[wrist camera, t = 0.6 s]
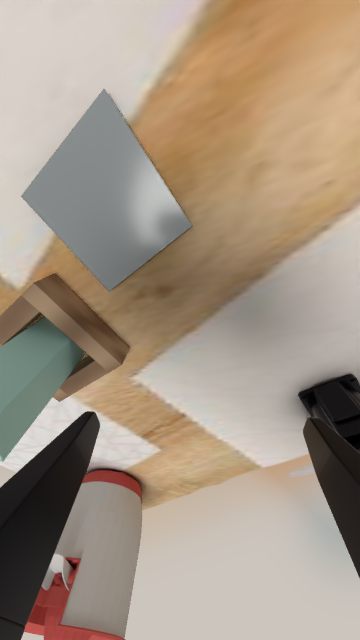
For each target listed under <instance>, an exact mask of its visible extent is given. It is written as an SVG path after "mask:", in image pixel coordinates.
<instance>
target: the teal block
mask: <svg viewBox="0 0 360 640" xmlns="http://www.w3.org/2000/svg"><path fill="white" fill-rule="evenodd" d="M83 356H84V350H83V349H82V348H80V347H79V346H78V345H77V344H76V343H75V342H74V341H72V340H71V339H70V338H69V337H68V336H67V335H66V334H65V333H63V332H62V331H61V330H60V329H59V328H58V327H57V326H55V325H54V324H53V323H52V322H51V321H50V320H49V319H48V318H46V317H45V316H44V317H43V318H41V319H40V320H39V321H37V322H36V323H34V324H33V325H31V326H30V327H29V328H27V329H26V330H24V331H23V332H21V333H20V334H19V335H17V336H16V337H14V338H13V339H12V340H10V341H9V342H7V343H6V344H4V345H3V346H2V347H0V461H2V462H3V461H4V460H5V458H6V457H7V456H8V454H9V453H10V452H11V450H12V449H13V448H14V447H15V445H16V444H17V443H18V441H19V440H20V439H21V437H22V436H23V435H24V433H25V432H26V431H27V430H28V428H29V427H30V426H31V424H32V423H33V422H34V420H35V419H36V418H37V416H38V415H39V414H40V413H41V411H42V410H43V409H44V407H45V406H46V405H47V403H48V402H49V401H50V399H51V398H52V397H53V396H54V394H55V393H56V392H57V390H58V389H59V388H60V386H61V385H62V384H63V382H64V381H65V380H66V379H67V377H68V376H69V375H70V373H71V372H72V371H73V369H74V368H75V367H76V366H77V364H78V363H79V362H80V360H81V359H82V358H83Z"/></svg>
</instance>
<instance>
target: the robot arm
mask: <svg viewBox="0 0 360 640" xmlns="http://www.w3.org/2000/svg"><path fill="white" fill-rule="evenodd" d="M298 396H299V398H300V400H301V401H302V403H303V404H304V406H305V407H306V409H307V410H308V412H309V414H310V415H311V417H308V418H307V420H306V423H305V426H304V429H303V434H304V438H305V441H306V444H307V447H308V450H309V454H310V457H311V460H312V463H313V466H314V469H315V472H316V475H317V478H318V481H319V483H320V486H321V488H322V490H323V493H324V495H325V497H326V500H327V502H328V505H329V507H330V509H331V512H332V514H333V516H334V519H335V521H336V523H337V526H338V528H339V531H340V533H341V535H342V537H343V540H344V542H345V544H346V547H347V549H348V552H349V554H350V556H351V559H352V561H353V563H354V566H355V568H356V571H357V573H358V575H359V578H360V385H359V382H358V380H357V378H356V377H355V376H354V375H347V376H345V377H342V378H339V379H337V380H334V381H331V382H328V383H326V384H323V385H320V386H318V387H315V388H312V389H309V390H307V391H304V392H301V393H300V394H299V395H298ZM99 428H100V422H99V420H98V417H97V415H96V413H95V412H89V411H87V412H85V413H83V414H82V415H81V416H80V417H79V418H78V419H77V420H75V421H74V422H73V423H72V424H71V425H70V426H69V427H68V428H66V429H65V430H64V431H63V432H62V433H61V434H60V435H59V436H57V437H56V438H55V439H54V440H53V441H52V442H51V443H50V444H49V445H47V446H46V447H45V448H44V449H43V450H42V451H41V452H40V453H38V454H37V455H36V456H35V457H34V458H33V459H32V460H31V461H29V462H28V463H27V464H26V465H25V466H24V467H23V468H22V469H21V470H19V471H18V472H17V473H16V474H15V475H14V476H13V477H12V478H11V479H9V480H8V481H7V482H6V483H5V484H4V485H3V486H2V487H1V488H0V640H21V638H22V635H23V633H24V630H25V626H26V624H27V622H28V619H29V617H30V614H31V612H32V609H33V607H34V604H35V601H36V599H37V596H38V594H39V591H40V589H41V586H42V584H43V581H44V578H45V576H46V573H47V571H48V568H49V566H50V563H51V561H52V558H53V555H54V553H55V550H56V548H57V545H58V543H59V540H60V538H61V535H62V533H63V530H64V527H65V525H66V522H67V520H68V517H69V515H70V512H71V510H72V507H73V504H74V502H75V499H76V497H77V494H78V492H79V489H80V487H81V484H82V481H83V479H84V476H85V474H86V471H87V468H88V466H89V463H90V459H91V456H92V453H93V449H94V446H95V442H96V439H97V435H98V432H99Z"/></svg>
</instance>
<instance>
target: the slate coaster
mask: <svg viewBox="0 0 360 640" xmlns="http://www.w3.org/2000/svg"><path fill="white" fill-rule="evenodd" d="M21 197H22V198H23V199H24V200H25V201H26V202H27V203H28V204H29V206H30V207H31V208H32V209H33V210H34V211H35V212H36V213H37V214H38V215H39V216H40V217H41V219H42V220H43V221H44V222H45V223H46V224H47V225H48V226H49V227H50V228H51V229H52V230H53V231H54V233H55V234H56V235H57V236H58V237H59V238H60V239H61V240H62V241H63V242H64V243H65V244H66V246H67V247H68V248H69V249H70V250H71V251H72V252H73V253H74V254H75V255H76V256H77V257H78V259H79V260H80V261H81V262H82V263H83V264H84V265H85V266H86V267H87V268H88V269H89V270H90V272H91V273H92V274H93V275H94V276H95V277H96V278H97V279H98V280H99V281H100V282H101V283H102V284H103V286H104V287H105V288H106V289H107V290H108V291H110V290H112V289H113V288H114V287H115V286H117V285H118V284H119V283H120V282H122V281H123V280H124V279H126V278H127V277H128V276H129V275H131V274H132V273H133V272H134V271H136V270H137V269H138V268H139V267H141V266H142V265H143V264H145V263H146V262H147V261H148V260H150V259H151V258H152V257H153V256H155V255H156V254H157V253H158V252H160V251H161V250H162V249H164V248H165V247H166V246H167V245H169V244H170V243H171V242H172V241H174V240H175V239H176V238H177V237H179V236H180V235H181V234H183V233H184V232H185V231H186V230H188V229H189V228H190V227H191V226H192V225H191V223H190V221H189V220H188V218H187V217H186V215H185V214H184V212H183V210H182V209H181V207H180V206H179V204H178V203H177V201H176V200H175V198H174V196H173V195H172V193H171V192H170V190H169V189H168V187H167V185H166V184H165V182H164V181H163V179H162V178H161V176H160V174H159V173H158V171H157V170H156V168H155V167H154V165H153V163H152V162H151V160H150V159H149V157H148V156H147V154H146V152H145V151H144V149H143V148H142V146H141V145H140V143H139V142H138V140H137V138H136V137H135V135H134V134H133V132H132V131H131V129H130V127H129V126H128V124H127V123H126V121H125V120H124V118H123V116H122V115H121V113H120V112H119V110H118V109H117V107H116V105H115V104H114V102H113V101H112V99H111V98H110V96H109V95H108V93H107V92H106V90H105V89H103V90H102V92H101V93H100V94H99V96H98V97H97V98H96V100H95V101H94V102H93V103H92V105H91V106H90V107H89V109H88V110H87V111H86V113H85V114H84V115H83V116H82V118H81V119H80V120H79V122H78V123H77V124H76V126H75V127H74V128H73V129H72V131H71V132H70V133H69V135H68V136H67V137H66V139H65V140H64V141H63V142H62V144H61V145H60V146H59V148H58V149H57V150H56V152H55V153H54V154H53V155H52V157H51V158H50V159H49V161H48V162H47V163H46V165H45V166H44V167H43V168H42V170H41V171H40V172H39V174H38V175H37V176H36V178H35V179H34V180H33V181H32V183H31V184H30V185H29V187H28V188H27V189H26V191H25V192H24V193H23V194H22V196H21Z"/></svg>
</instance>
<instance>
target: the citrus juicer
mask: <svg viewBox="0 0 360 640" xmlns="http://www.w3.org/2000/svg"><path fill="white" fill-rule="evenodd" d="M141 527H142V497H141V489H140V485H139V484H138V482H137V481H135V480H134V479H133V478H131V477H129V476H127V475H126V474H125V473H124V472H114V471H107V470H99V471H93V472H90V473H88V474H87V475H86V476H85V477H84V479H83V481H82V484H81V487H80V489H79V492H78V494H77V497H76V499H75V502H74V504H73V507H72V510H71V512H70V515H69V517H68V520H67V522H66V525H65V527H64V530H63V533H62V535H61V538H60V540H59V543H58V545H57V548H56V550H55V553H54V555H53V558H52V561H51V563H50V566H49V568H48V571H47V573H46V576H45V578H44V581H43V584H42V586H41V589H40V591H39V594H38V596H37V599H36V601H35V604H34V607H33V609H32V612H31V614H30V617H29V619H28V622H27V624H26V626H25V630H24V632H28V633H32V634H38V635H43V636H44V640H125V639H124V637H125V631H126V625H127V618H128V613H129V607H130V601H131V595H132V588H133V583H134V576H135V571H136V565H137V559H138V553H139V546H140V538H141Z"/></svg>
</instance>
